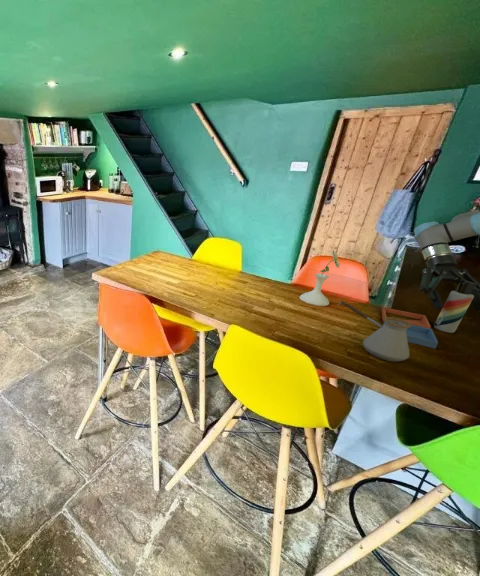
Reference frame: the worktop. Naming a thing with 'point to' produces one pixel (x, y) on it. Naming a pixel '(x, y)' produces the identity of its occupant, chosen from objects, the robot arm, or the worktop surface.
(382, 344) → the coffee pot
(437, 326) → the lotion bottle
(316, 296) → the flower in vase
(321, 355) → the worktop surface
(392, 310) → the terracotta tray
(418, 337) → the blue tray
